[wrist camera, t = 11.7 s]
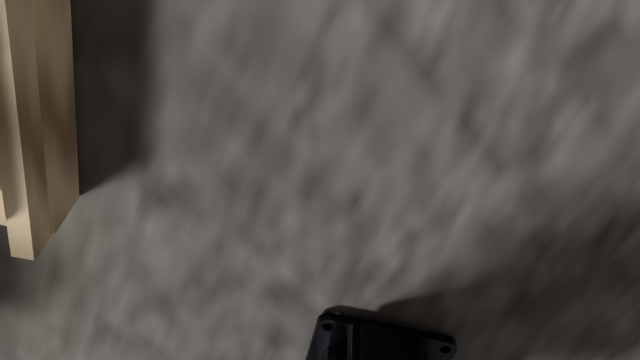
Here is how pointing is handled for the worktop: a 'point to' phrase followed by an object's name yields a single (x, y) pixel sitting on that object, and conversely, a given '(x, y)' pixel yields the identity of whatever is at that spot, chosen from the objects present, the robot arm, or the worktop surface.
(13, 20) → the trough rack
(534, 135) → the worktop surface
